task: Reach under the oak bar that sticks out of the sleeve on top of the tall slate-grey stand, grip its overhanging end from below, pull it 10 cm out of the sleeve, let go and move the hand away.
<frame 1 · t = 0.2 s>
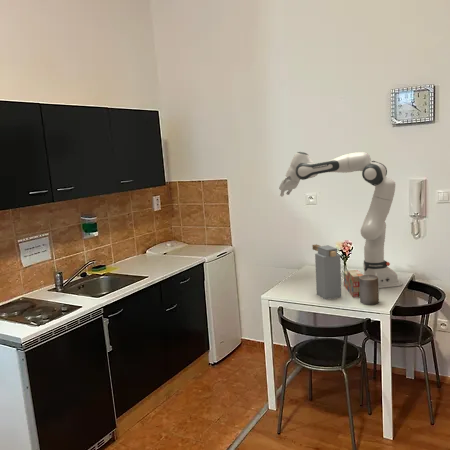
hand: (284, 195, 290), 54 cm above the table, tool tilted 25°, fingers open, 8 cm apart
pillar candle: (369, 302, 239), on the table
oak bar: (323, 250, 253), point 25 cm above the table, slide at 0.0 cm
stack of blocks: (353, 291, 259), on the table
slate-grey stand: (328, 295, 254), on the table
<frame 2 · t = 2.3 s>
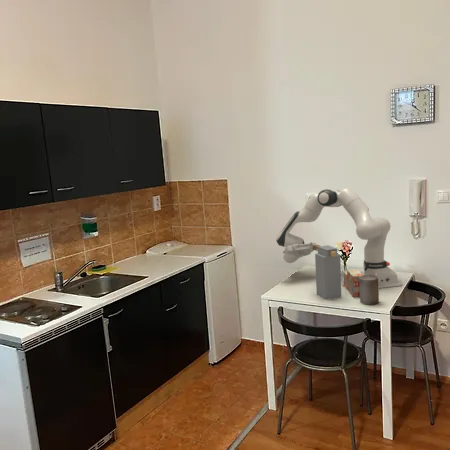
hand: (305, 244, 275), 25 cm above the table, tool pointing upward, fingers open, 8 cm apart
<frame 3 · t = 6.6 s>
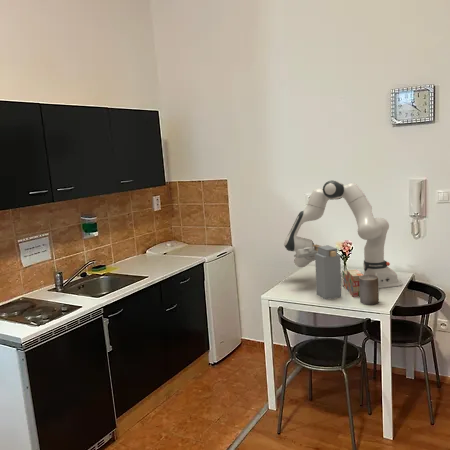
hand: (317, 247, 260), 26 cm above the table, tool pointing upward, fingers closed on oak bar, 3 cm apart
oak bar: (323, 250, 253), point 25 cm above the table, slide at 0.0 cm, touching gripper
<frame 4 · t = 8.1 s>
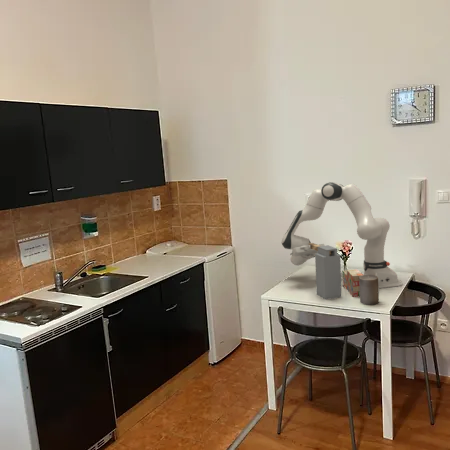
hand: (313, 245, 265), 26 cm above the table, tool pointing upward, fingers closed on oak bar, 3 cm apart
oak bar: (319, 248, 258), point 25 cm above the table, slide at 5.0 cm, touching gripper
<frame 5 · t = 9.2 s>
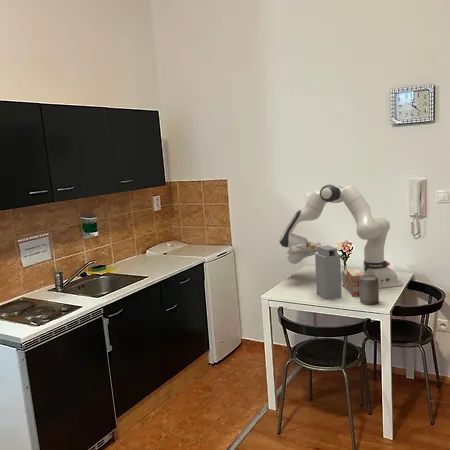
hand: (309, 244, 269), 26 cm above the table, tool pointing upward, fingers closed on oak bar, 3 cm apart
oak bar: (315, 247, 263), point 25 cm above the table, slide at 9.8 cm, touching gripper
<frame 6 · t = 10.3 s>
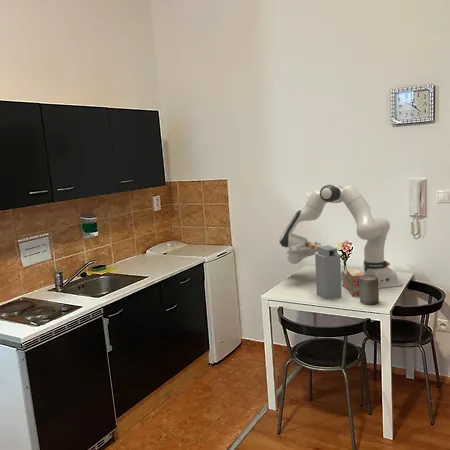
hand: (309, 244, 269), 26 cm above the table, tool pointing upward, fingers open, 8 cm apart
oak bar: (315, 247, 263), point 25 cm above the table, slide at 10.0 cm
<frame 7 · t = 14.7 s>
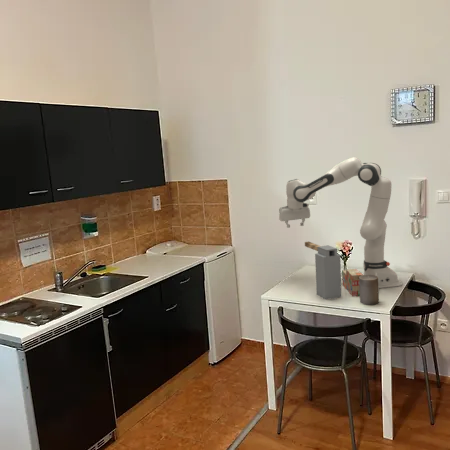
hand: (295, 226, 286), 34 cm above the table, tool pointing down, fingers open, 8 cm apart
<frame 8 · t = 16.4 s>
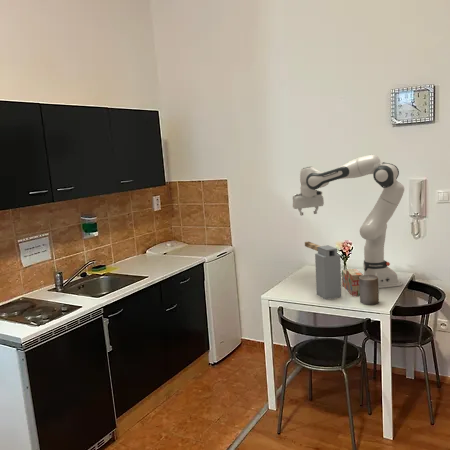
hand: (308, 214, 285), 41 cm above the table, tool pointing down, fingers open, 8 cm apart
at the end: oak bar slide at 10.0 cm; the gripper is holding nothing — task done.
